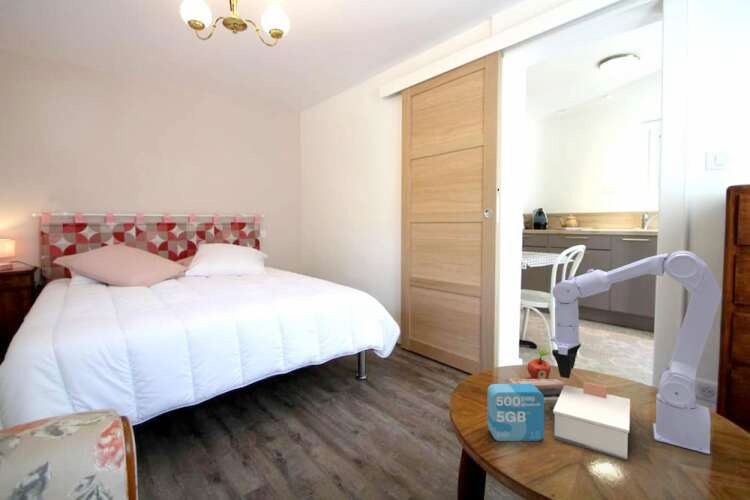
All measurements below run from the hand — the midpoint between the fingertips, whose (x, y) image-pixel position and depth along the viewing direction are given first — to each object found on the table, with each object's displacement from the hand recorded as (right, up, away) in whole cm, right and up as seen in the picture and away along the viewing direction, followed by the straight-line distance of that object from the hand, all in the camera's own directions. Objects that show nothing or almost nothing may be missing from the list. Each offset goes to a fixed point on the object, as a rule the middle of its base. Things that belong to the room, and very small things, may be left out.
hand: (567, 372), depth 96 cm
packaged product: (-4, -10, +8) cm, 14 cm away
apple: (+1, -9, +18) cm, 20 cm away
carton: (0, -11, -11) cm, 16 cm away
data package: (-19, -11, -12) cm, 25 cm away
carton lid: (0, -4, -12) cm, 12 cm away
